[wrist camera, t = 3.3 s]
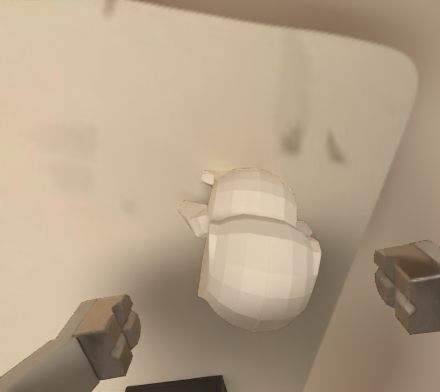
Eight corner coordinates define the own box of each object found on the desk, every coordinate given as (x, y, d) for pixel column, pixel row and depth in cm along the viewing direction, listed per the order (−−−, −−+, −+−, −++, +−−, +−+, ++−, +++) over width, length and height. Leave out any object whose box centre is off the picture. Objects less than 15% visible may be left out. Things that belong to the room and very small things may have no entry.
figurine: (185, 202, 20) (126, 340, 9) (193, 141, 18) (134, 212, 7) (291, 221, 20) (367, 379, 9) (309, 161, 18) (429, 262, 7)
